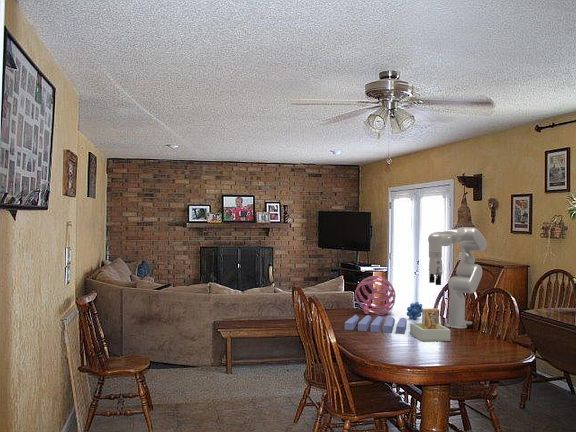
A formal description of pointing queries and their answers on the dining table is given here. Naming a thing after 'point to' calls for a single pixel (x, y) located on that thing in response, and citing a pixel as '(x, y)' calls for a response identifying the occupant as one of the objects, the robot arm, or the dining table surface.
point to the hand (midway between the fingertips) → (435, 283)
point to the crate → (429, 333)
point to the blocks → (376, 324)
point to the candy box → (430, 318)
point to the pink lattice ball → (371, 297)
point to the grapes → (414, 310)
